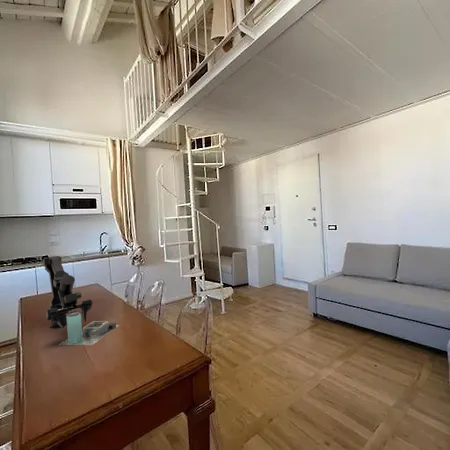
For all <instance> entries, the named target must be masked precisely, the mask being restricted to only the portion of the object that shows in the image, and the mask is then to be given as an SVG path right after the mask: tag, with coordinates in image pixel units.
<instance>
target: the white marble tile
mask: <svg viewBox="0 0 450 450" xmlns="http://www.w3.org/2000/svg"><path fill="white" fill-rule="evenodd" d="M119 326H120V324H116V322H109V320H98V321H97V320H93V321H91V322H90V323H88V324H87V325H85V326H83V327H82V337H83V339H82V340H81V341H80V342H77V343H72V344H70V343H68V338H66V339H65V340H63V341H62V342H59V344H58V346H61V345H62V346H94V345H95V344H96V343H98V342H99V341H100V340H101V339H104V337H105V336H107V335H108V334H109V333H111V332H112V331H114V330H115V329H116V328H118V327H119Z"/></svg>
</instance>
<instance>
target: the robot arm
mask: <svg viewBox="0 0 450 450" xmlns="http://www.w3.org/2000/svg"><path fill="white" fill-rule="evenodd" d="M62 263H63V261H62V256H60V255H55V256H54V255H53V256H48V257H45V258H43V260H42V266H43V267H44V270H45V271H46V272H47V273H48V274H49V276H48V277H49V282H50V288H51V296H52V299H51V300H50V303H49V307H48V309H46V316H45V317H46V321H50V322H51V325H50V326H49V328H61V329H64V327H65V325H66V326H67V317H66V316H67V314H68V313H70V312H74V311H76V310H77V311H78V310H80V309H81V311H82V312H81V316H82V318H83V321H84V323H86V321H87V315H88V314H87V313H88V312H89V311H90V310H91V309H92V307H93V299H91V298H90V299H84V300H82V302H81V304H78V301H79V299H81V298H82V292H81V291H76V292H75V293H73V289H74V285H75V280H76V279H75V277H74V276H73V275H70V274H69V273H68V272H66V271H65V270H64V267H63V264H62Z"/></svg>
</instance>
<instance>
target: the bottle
mask: <svg viewBox="0 0 450 450" xmlns="http://www.w3.org/2000/svg"><path fill="white" fill-rule="evenodd" d="M66 317H67V324H66V328H67V330H66V332H67V339H68V343H70V344H72V343H77V342H80V341H81V340H82V339H83V337H82V328H83V327H82V324H83V323H82V312H80V311H78V310H77V311H76V310H73V311H69V312H68V313H67V314H66Z"/></svg>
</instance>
